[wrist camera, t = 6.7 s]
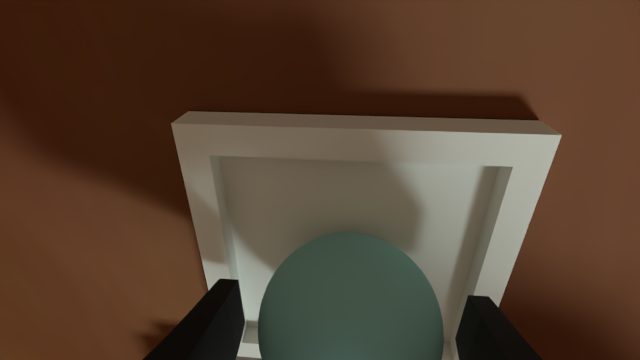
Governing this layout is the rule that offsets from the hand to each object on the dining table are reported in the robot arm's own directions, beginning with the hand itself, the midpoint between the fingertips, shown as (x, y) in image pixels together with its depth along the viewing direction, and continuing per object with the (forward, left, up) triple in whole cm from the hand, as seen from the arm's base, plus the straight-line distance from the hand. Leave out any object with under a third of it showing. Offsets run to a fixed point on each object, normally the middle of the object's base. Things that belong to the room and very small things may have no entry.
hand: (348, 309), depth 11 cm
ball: (0, 0, -2) cm, 2 cm away
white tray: (0, 0, -3) cm, 3 cm away
